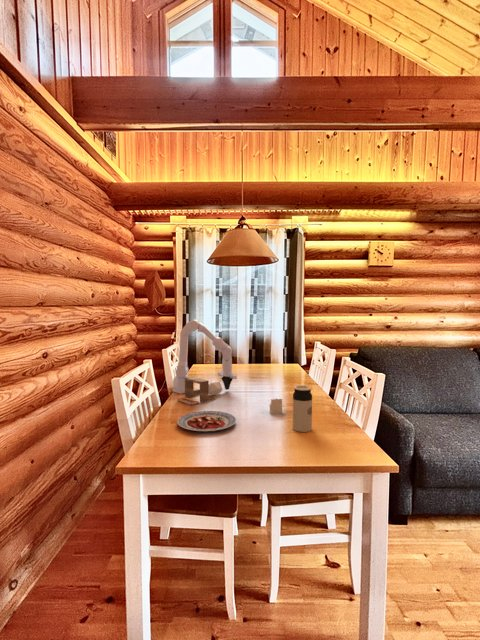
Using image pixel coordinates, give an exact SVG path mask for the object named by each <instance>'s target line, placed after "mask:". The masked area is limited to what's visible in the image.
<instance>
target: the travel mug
mask: <svg viewBox="0 0 480 640" xmlns="http://www.w3.org/2000/svg"><path fill="white" fill-rule="evenodd" d="M312 388H313V387H311V386H309V385H306V384H305V385H303V384H301V385H300V384H299V385H294V386H293V389H294V392H293V394H292V429H293V430H294V431H296V432H298V433H308V432H310V431H312V428H313V427H312V426H313V394H312V393H311V391H312Z"/></svg>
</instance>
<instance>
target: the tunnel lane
mask: <svg viewBox="0 0 480 640" xmlns="http://www.w3.org/2000/svg"><path fill="white" fill-rule="evenodd" d="M209 383H210V382H209V380H207V379H204V378H198V377H195V376H188V377H186V378H185V393H184V397H186V398H191V397H197V396H199V404H203V403H207V402H210V401H214V400H216V396H215V394H209ZM194 384H199V389H194V388H195V387H194V386H195V385H194Z"/></svg>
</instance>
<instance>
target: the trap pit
mask: <svg viewBox="0 0 480 640" xmlns="http://www.w3.org/2000/svg"><path fill="white" fill-rule="evenodd" d="M177 401H178V402H179V403H182V404H184V405H185V404H186V405H188V406H191V407H192V406H195V405H199V404H200V400H199V401H198V400H196V399H192V398H190V397H188V398H186V397H185V396H184V397H181V398H177Z"/></svg>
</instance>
